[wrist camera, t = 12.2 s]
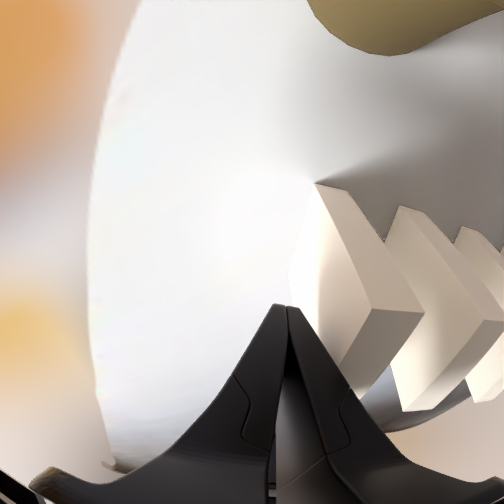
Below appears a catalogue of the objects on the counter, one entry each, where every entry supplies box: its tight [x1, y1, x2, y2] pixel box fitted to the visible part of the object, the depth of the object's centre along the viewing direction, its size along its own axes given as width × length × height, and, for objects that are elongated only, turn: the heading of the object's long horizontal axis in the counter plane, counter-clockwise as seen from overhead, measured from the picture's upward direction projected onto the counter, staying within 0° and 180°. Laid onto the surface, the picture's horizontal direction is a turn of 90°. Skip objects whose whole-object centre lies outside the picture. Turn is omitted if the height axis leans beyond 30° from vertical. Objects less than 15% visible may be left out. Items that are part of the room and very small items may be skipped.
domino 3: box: [453, 226, 504, 403], centre depth 11 cm, size 2×5×8 cm, turn 170°
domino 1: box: [289, 184, 425, 400], centre depth 11 cm, size 2×5×8 cm, turn 170°
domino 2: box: [384, 205, 504, 412], centre depth 11 cm, size 2×5×8 cm, turn 170°
